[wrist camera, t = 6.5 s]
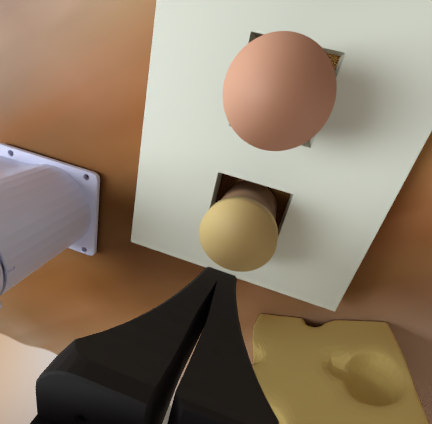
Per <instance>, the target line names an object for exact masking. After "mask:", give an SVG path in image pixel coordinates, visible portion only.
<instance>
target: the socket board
mask: <svg viewBox="0 0 432 424" xmlns="http://www.w3.org/2000/svg"><path fill="white" fill-rule="evenodd" d="M276 31H291V32H297V33H300V34H303V35H305V36H307V37H309V38H311V39H312V40H314V41H315V42H317V43H318V44H319V45H320V46H321V47H322V48H323V49H324V51H325V52H326V53H329V54H334V55H338V56H340V59H339V62H338V64H337V67H336V70H335V75H336V83H337V91H336V99H335V103H334V106H333V110H332V112H331V114H330V116H329V118H328V120H327V122H326V123H325V125H324V126H323V127H322V128H321V130H320V131H319V132H318V133H317V134H316V135H315V136H314V137H312V138H311V139H310V142H308V141H307V142H305V143H304V144H302V145H300V146H298V147H296V148H292V149H289V150H284V151H267V150H262V149H259V148H256V147H254V146H252V145H250V144H248V143H247V142H245V141H244V140H242V139H241V138H240V137H239V136H238V135H237V134H236V132H235V131H234V130H233V128H232V127H231V125H230V124H229V122H228V119H227V117H226V114H225V111H224V106H223V85H224V80H225V77H226V73H227V71H228V69H229V66H230V65H231V63H232V61H233V59H234V58H235V57H236V55H237V54H238V53H239V52H240V51H241V50H242V48H243V47H245V46H246V45H247V44H248V43H249V42H251V41H252V40H254V39H255V38H256V37H260V36H262V35H264V34H267V33H271V32H276ZM431 131H432V0H157V2H156V11H155V21H154V30H153V39H152V48H151V58H150V67H149V76H148V85H147V95H146V104H145V113H144V122H143V132H142V141H141V150H140V159H139V169H138V178H137V187H136V196H135V205H134V215H133V224H132V233H131V242H133V243H136V244H139V245H142V246H145V247H147V248H150V249H153V250H156V251H159V252H162V253H165V254H168V255H171V256H174V257H177V258H180V259H182V260H185V261H188V262H191V263H194V264H197V265H200V266H203V267H211V268H214V269H217V270H220V271H223V272H226V273H229V274H232V275H235V276H236V278H238V279H241V280H244V281H247V282H250V283H253V284H255V285H258V286H261V287H264V288H267V289H270V290H273V291H276V292H279V293H282V294H285V295H288V296H291V297H293V298H296V299H299V300H302V301H305V302H308V303H311V304H314V305H317V306H320V307H323V308H326V309H328V310H331V311H334V312H335V310H336V309H337V307H338V305H339V303H340V301H341V299H342V297H343V295H344V294H345V292H346V290H347V288H348V286H349V284H350V282H351V280H352V279H353V277H354V275H355V273H356V271H357V269H358V267H359V266H360V264H361V262H362V260H363V258H364V256H365V254H366V252H367V251H368V249H369V247H370V245H371V243H372V241H373V239H374V238H375V236H376V234H377V232H378V230H379V228H380V226H381V224H382V223H383V221H384V219H385V217H386V215H387V213H388V211H389V209H390V208H391V206H392V204H393V202H394V200H395V198H396V196H397V195H398V193H399V191H400V189H401V187H402V185H403V183H404V181H405V180H406V178H407V176H408V174H409V172H410V170H411V168H412V166H413V165H414V163H415V161H416V159H417V157H418V155H419V153H420V152H421V150H422V148H423V146H424V144H425V142H426V140H427V138H428V137H429V135H430V133H431ZM222 174H227V175H230V176H233V177H237V178H240V179H243V180H247V181H250V182H254V183H257V184H260V185H264V186H267V187H270V188H274V189H277V190H281V191H284V192H287V193H291V195H290V197H289V200H288V203H287V206H286V209H285V211H284V214H283V217H282V220H281V222H280V225H279V228H278V239H277V246H276V250H275V252H274V255H273V256H272V258H271V259H270V260H269V261H268V262H267V263H266V264H265V265H263V266H262V267H260V268H258V269H256V270H252V271H247V272H237V271H232V270H228V269H225V268H223V267H221V266H219V265H218V264H216V263H215V262H214V261H212V260H211V259H210V258H209V257H208V256H207V254H206V253H205V251H204V250H203V248H202V245H201V242H200V238H199V228H200V224H201V221H202V219H203V217H204V216H205V214H206V213H207V211H208V210H209V208H210V207H211V206H212V205H213V204H215V203H216V199H217V195H218V191H219V187H220V182H221V178H222Z"/></svg>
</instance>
